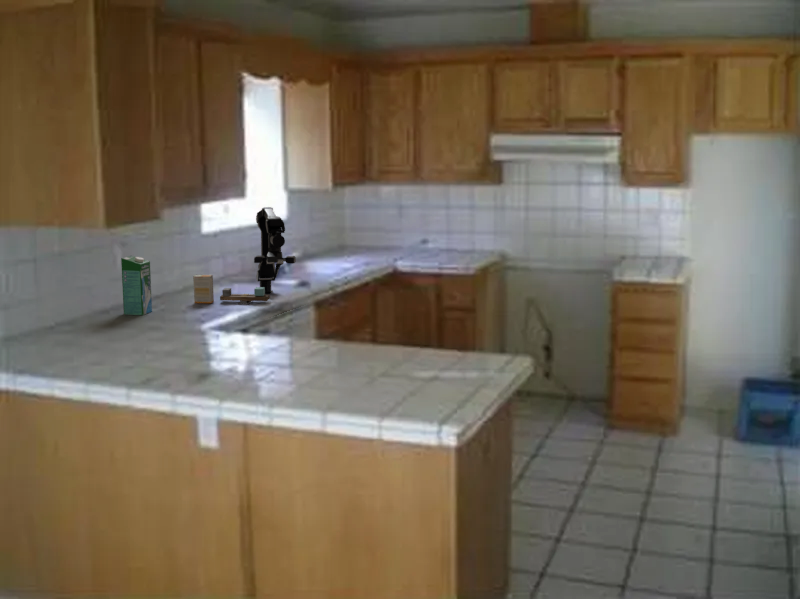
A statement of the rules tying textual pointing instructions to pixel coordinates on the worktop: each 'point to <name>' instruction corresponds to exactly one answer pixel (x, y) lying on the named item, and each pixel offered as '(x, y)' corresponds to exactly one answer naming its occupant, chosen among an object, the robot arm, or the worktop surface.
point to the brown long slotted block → (242, 297)
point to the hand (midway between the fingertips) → (275, 277)
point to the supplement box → (203, 289)
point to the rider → (259, 291)
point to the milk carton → (136, 285)
